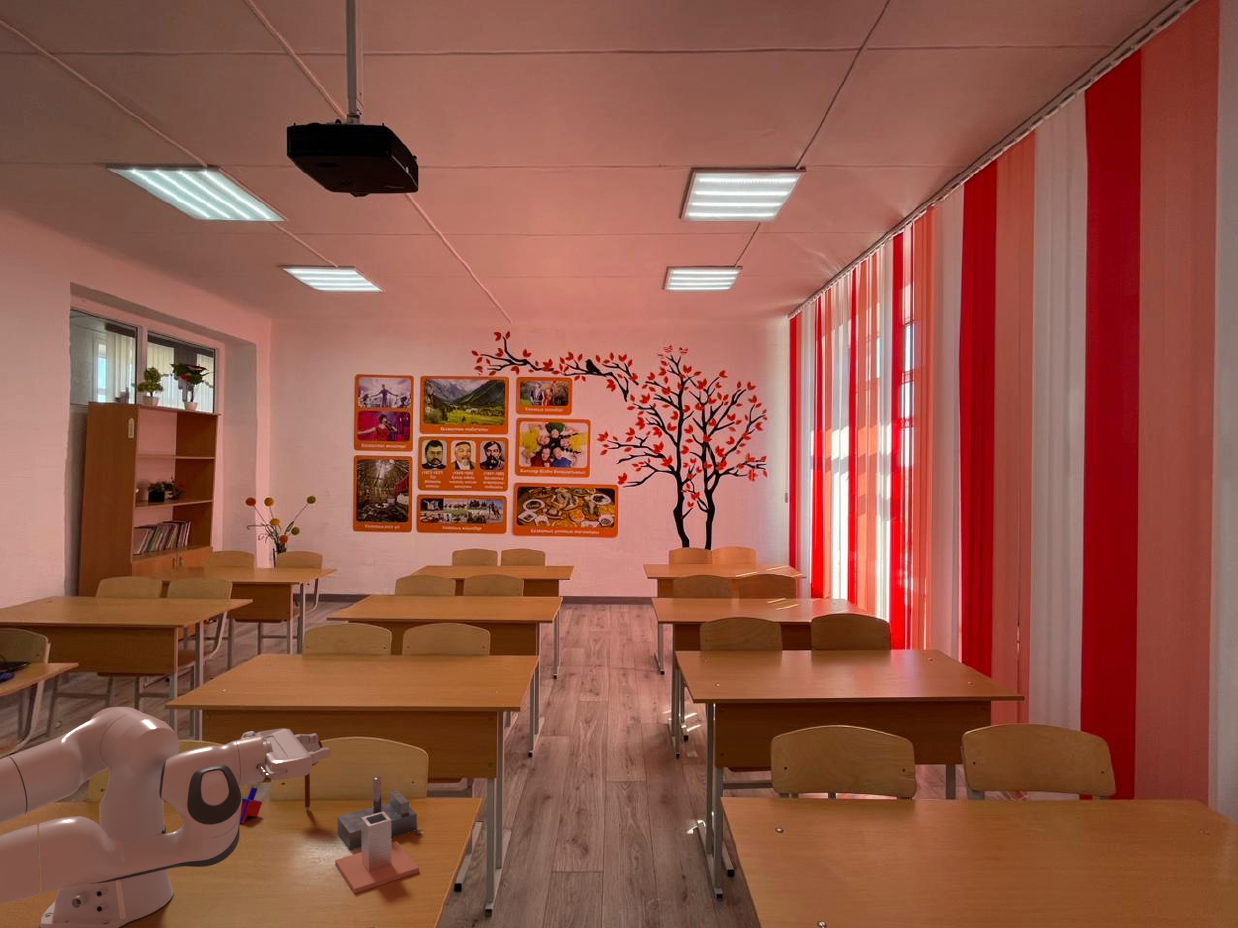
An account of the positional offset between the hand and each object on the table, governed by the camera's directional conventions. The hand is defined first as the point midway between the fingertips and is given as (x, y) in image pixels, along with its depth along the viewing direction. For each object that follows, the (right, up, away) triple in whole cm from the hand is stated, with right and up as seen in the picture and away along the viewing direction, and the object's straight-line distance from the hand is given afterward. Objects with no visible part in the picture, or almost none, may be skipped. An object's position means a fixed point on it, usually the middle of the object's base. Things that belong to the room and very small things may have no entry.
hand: (323, 744), depth 162 cm
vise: (+4, -30, +23) cm, 38 cm away
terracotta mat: (+9, -30, +7) cm, 32 cm away
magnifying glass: (-18, -30, +35) cm, 49 cm away
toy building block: (-31, -30, +31) cm, 53 cm away
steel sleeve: (+9, -29, +7) cm, 31 cm away
